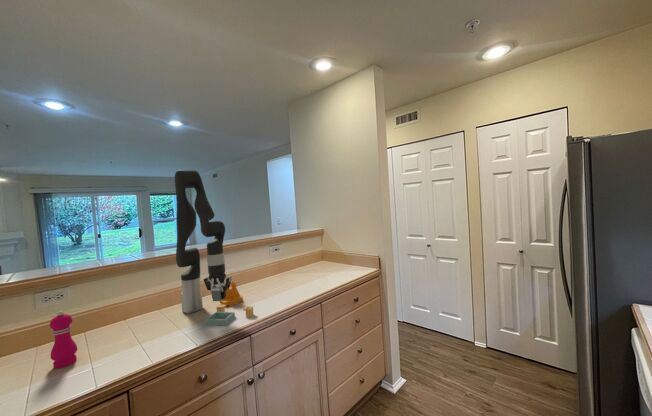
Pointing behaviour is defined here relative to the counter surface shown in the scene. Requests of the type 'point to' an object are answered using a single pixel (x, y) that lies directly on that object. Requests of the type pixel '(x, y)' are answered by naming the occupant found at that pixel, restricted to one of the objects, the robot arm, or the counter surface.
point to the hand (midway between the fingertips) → (219, 298)
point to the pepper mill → (62, 341)
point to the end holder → (213, 321)
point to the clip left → (221, 308)
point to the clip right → (248, 311)
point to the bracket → (232, 296)
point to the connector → (216, 293)
